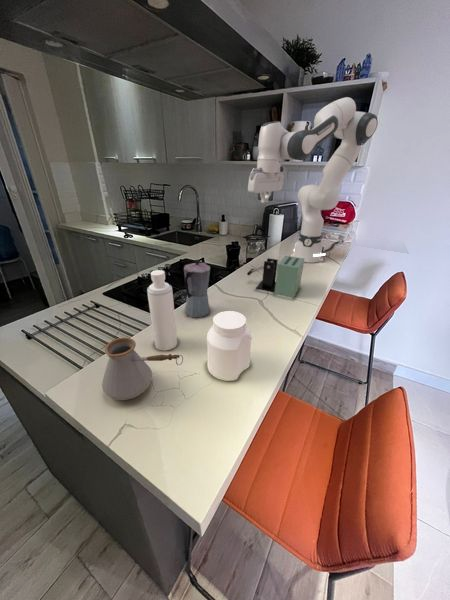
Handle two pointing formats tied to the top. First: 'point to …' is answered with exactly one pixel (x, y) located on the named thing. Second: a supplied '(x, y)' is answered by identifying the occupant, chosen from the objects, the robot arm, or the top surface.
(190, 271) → the moka pot
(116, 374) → the coffee pot
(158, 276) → the white bottle
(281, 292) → the toaster body
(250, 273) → the lever
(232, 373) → the jar
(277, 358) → the top surface
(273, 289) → the lever bracket
